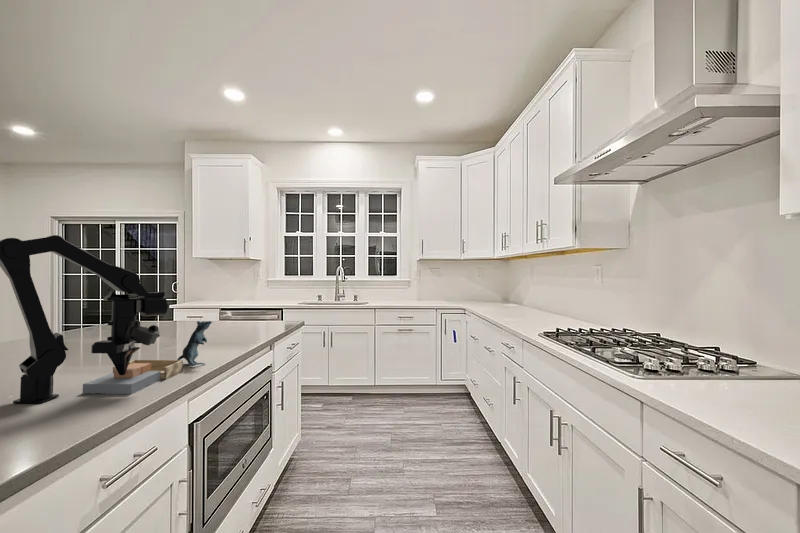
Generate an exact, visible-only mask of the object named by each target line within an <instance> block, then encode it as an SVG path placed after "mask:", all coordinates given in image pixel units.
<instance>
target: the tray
mask: <svg viewBox="0 0 800 533" xmlns="http://www.w3.org/2000/svg"><path fill="white" fill-rule="evenodd" d="M133 363H151V370H150V371H160V380H161V381H163V380H164V381H166V380H168V379H170V378H172V377H173V376H174V377H175V376H176V375H178V374H180V373H182V372H183V366H184V365H183V364H184V360H183V359H181V360H177V359H133V360H132V359H131V360H130V362H129V364H128V365H130V364H133ZM114 370H116V368H115V366H113V367H112V373H114ZM160 380H159V381H160Z"/></svg>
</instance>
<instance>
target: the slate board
mask: <svg viewBox="0 0 800 533" xmlns="http://www.w3.org/2000/svg"><path fill="white" fill-rule="evenodd" d="M159 381H160V371H148V372H145V373H143V374H140V375H138V376H135V377H133V378H114V373H113V372H112V373H108V374H106V375H103V376H101V377H98V378H95V379H93V380H90V381H88V382H84V383H82V394H83V395H88V394H87V393H92V394H91V395H94V394H93V393H101V394H100V395H133V394H134V393H137V392H139V391H141V390H142V389H144V388H146V387H149V386H150V385H152V384H155V383H156V382H159ZM85 393H86V394H85ZM102 393H103V394H102ZM104 393H105V394H104Z"/></svg>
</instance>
